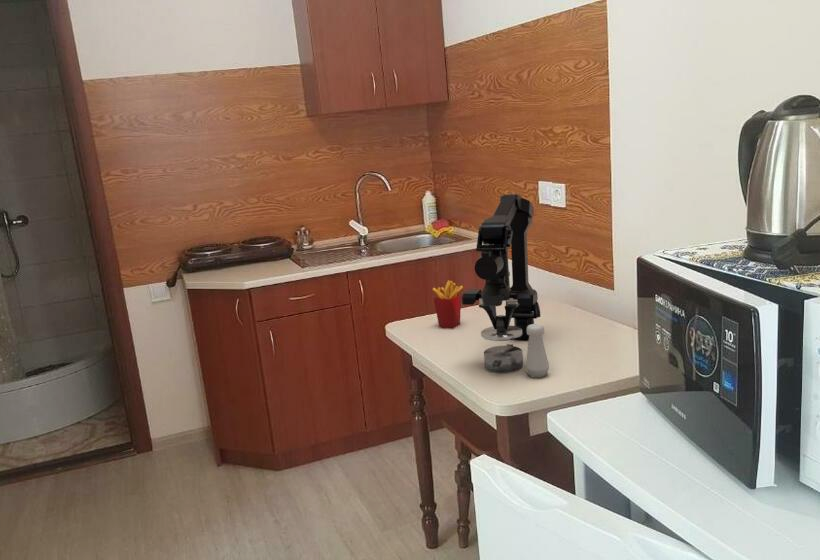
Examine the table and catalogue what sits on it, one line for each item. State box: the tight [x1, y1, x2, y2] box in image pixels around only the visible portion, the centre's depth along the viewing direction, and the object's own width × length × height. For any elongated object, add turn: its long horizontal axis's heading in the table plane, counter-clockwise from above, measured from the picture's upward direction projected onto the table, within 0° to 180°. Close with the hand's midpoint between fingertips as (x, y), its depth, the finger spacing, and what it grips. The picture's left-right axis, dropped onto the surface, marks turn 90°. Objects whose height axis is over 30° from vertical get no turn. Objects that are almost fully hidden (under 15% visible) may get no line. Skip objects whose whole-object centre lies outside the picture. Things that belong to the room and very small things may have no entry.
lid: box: [480, 314, 522, 342], centre depth 186 cm, size 11×11×5 cm
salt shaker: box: [525, 323, 550, 378], centre depth 179 cm, size 6×6×13 cm
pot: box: [483, 344, 524, 374], centre depth 188 cm, size 15×10×4 cm, turn 158°
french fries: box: [431, 279, 464, 329], centre depth 227 cm, size 9×8×15 cm
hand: (501, 329), depth 186 cm, fingers closed on lid, 3 cm apart
